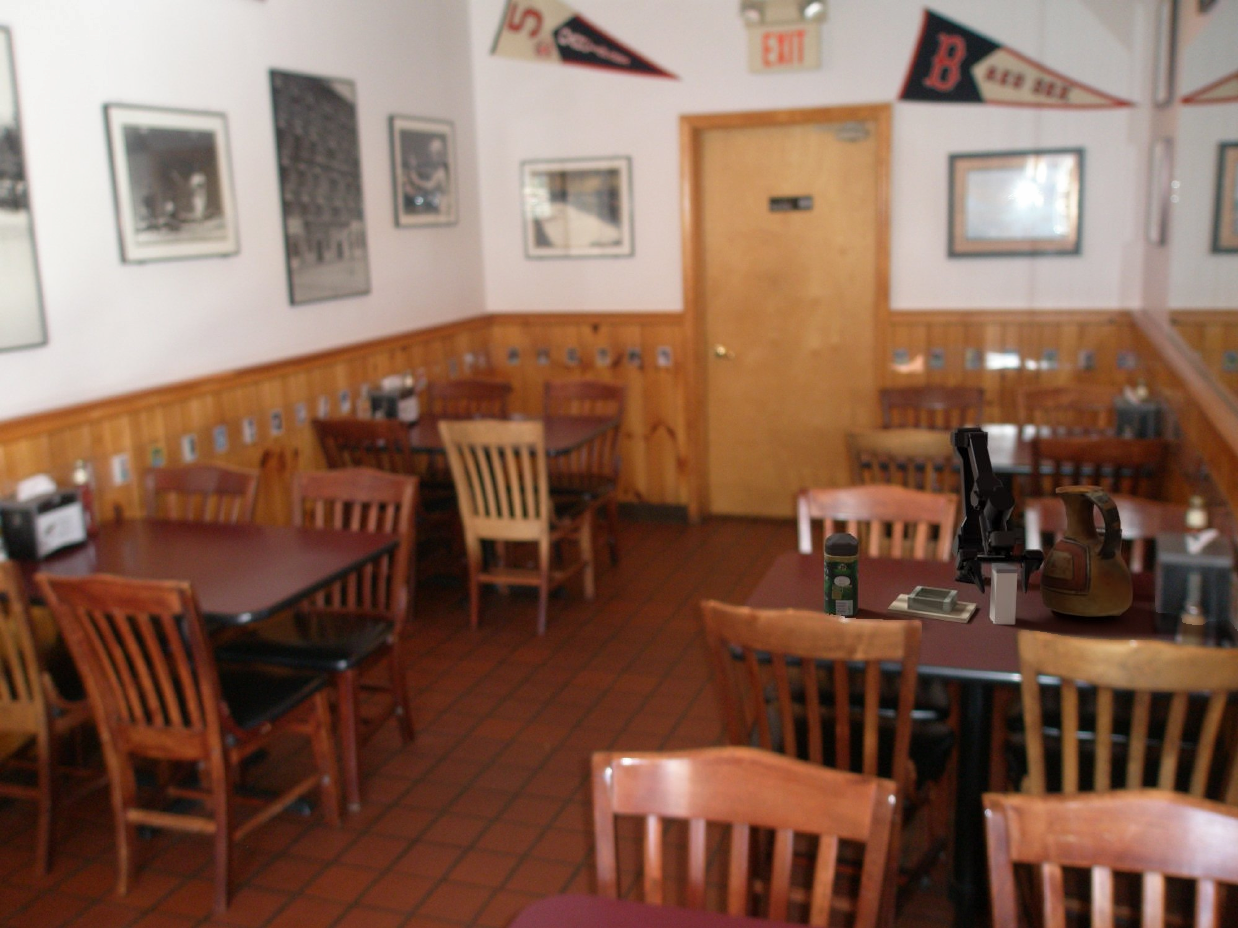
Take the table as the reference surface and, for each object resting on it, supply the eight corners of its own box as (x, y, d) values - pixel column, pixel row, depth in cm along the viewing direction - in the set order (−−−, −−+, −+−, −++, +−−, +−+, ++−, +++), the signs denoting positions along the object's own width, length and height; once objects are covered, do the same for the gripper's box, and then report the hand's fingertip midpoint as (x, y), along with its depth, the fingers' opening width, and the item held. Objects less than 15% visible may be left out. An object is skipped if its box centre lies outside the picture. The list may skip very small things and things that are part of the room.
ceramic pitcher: (1079, 594, 276) (1086, 474, 270) (1151, 618, 258) (1160, 489, 253) (1020, 608, 267) (1026, 483, 261) (1090, 633, 250) (1098, 501, 244)
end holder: (900, 597, 277) (901, 582, 276) (976, 607, 269) (977, 591, 268) (887, 612, 267) (887, 596, 266) (966, 623, 258) (966, 606, 257)
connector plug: (989, 617, 262) (991, 563, 259) (1009, 617, 261) (1012, 563, 259) (994, 624, 257) (996, 568, 255) (1015, 624, 257) (1017, 568, 254)
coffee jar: (824, 604, 273) (825, 529, 270) (857, 606, 272) (859, 530, 268) (822, 618, 264) (823, 540, 260) (857, 619, 262) (859, 541, 259)
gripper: (959, 515, 259) (969, 576, 251) (1044, 515, 258) (1056, 576, 249) (951, 539, 269) (960, 599, 260) (1032, 539, 267) (1043, 599, 259)
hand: (1004, 593), depth 257 cm, fingers open, 9 cm apart
